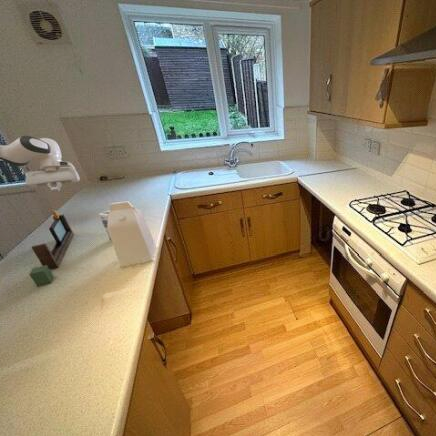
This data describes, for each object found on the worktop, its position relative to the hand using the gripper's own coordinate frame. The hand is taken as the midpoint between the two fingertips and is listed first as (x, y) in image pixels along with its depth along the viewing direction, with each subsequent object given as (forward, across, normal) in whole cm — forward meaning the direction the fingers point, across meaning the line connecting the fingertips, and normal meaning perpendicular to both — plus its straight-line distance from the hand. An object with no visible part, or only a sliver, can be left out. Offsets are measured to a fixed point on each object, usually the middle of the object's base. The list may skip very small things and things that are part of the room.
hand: (55, 191), depth 121 cm
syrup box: (+34, +23, -5) cm, 41 cm away
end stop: (+50, 0, -21) cm, 54 cm away
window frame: (+33, 0, -4) cm, 33 cm away
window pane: (+26, 0, 0) cm, 26 cm away
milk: (+50, +32, -21) cm, 63 cm away
